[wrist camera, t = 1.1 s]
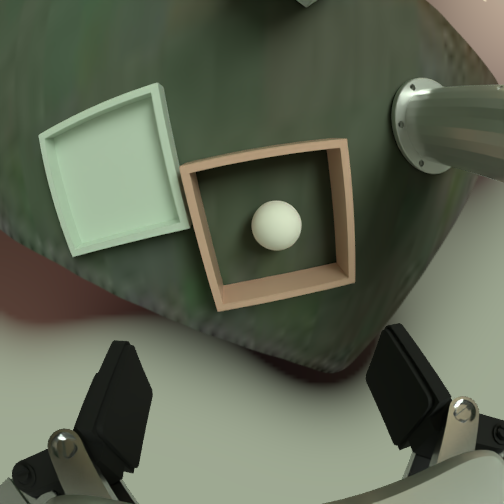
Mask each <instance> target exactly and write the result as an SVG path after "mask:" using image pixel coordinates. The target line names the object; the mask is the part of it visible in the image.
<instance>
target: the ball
mask: <svg viewBox="0 0 504 504" xmlns="http://www.w3.org/2000/svg"><path fill="white" fill-rule="evenodd" d="M252 232H253V235H254V237H255V239H256V240H257V242H258V243H259V244H260V245H262V246H263V247H265V248H267V249H270V250H283V249H286V248H288V247H290V246H291V245H293V244H294V243H295V242H296V240H297V239H298V237H299V235H300V232H301V219H300V216H299V214H298V212H297V211H296V209H295V208H294V207H292V206H291V205H290V204H288V203H286V202H283V201H270V202H267V203H265V204H263V205H261V206H260V207H259V208H258V209H257V210H256V212H255V214H254V216H253V219H252Z"/></svg>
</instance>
